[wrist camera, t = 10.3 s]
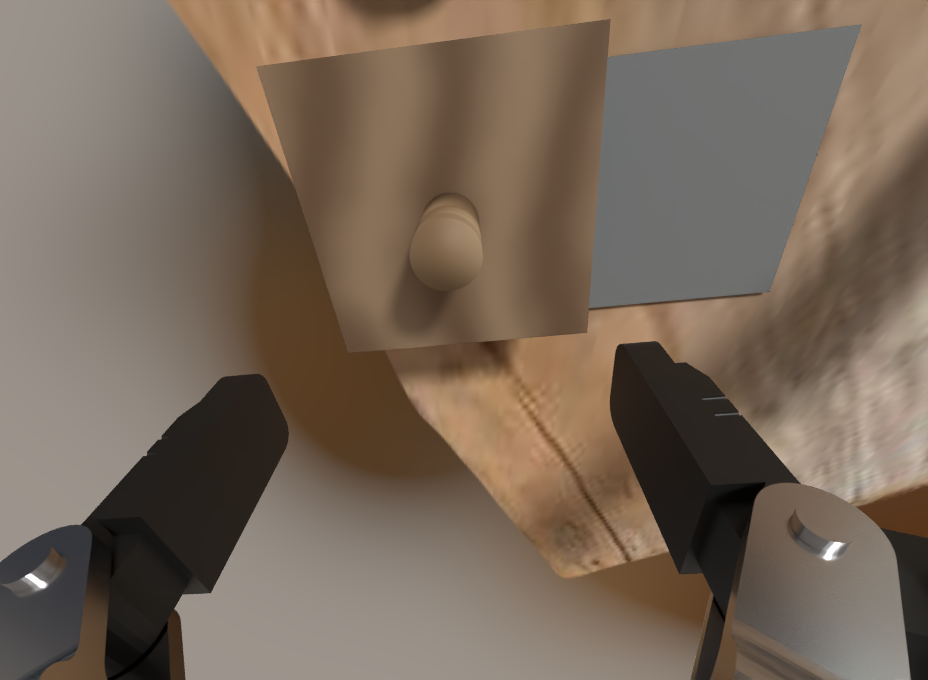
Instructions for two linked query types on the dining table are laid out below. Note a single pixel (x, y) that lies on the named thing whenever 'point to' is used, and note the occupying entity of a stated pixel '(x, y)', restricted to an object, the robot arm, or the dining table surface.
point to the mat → (708, 163)
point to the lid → (450, 182)
